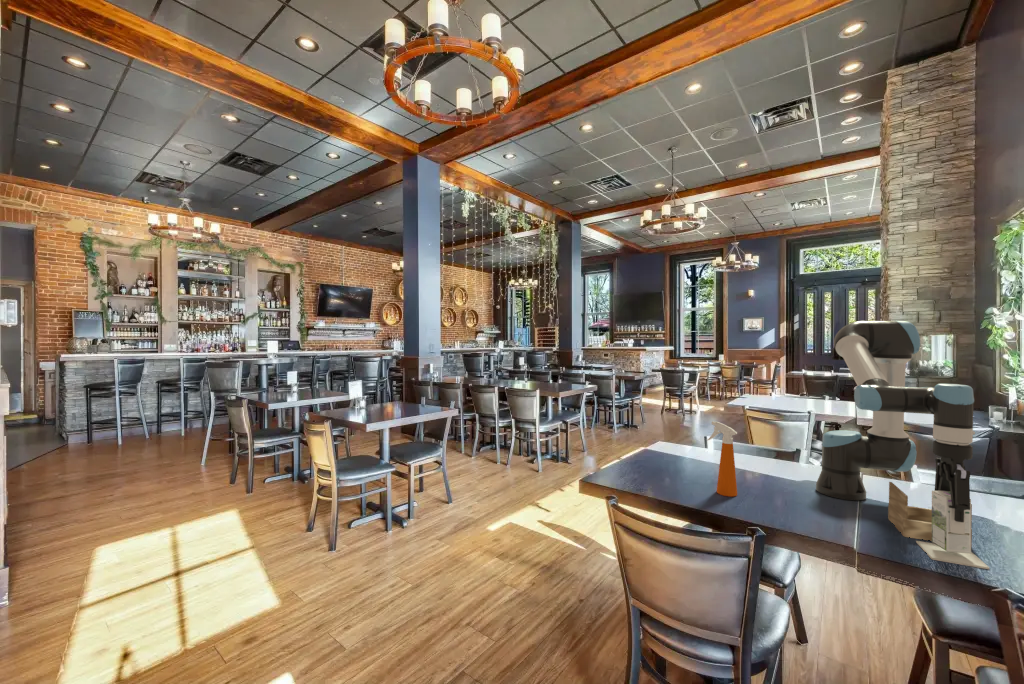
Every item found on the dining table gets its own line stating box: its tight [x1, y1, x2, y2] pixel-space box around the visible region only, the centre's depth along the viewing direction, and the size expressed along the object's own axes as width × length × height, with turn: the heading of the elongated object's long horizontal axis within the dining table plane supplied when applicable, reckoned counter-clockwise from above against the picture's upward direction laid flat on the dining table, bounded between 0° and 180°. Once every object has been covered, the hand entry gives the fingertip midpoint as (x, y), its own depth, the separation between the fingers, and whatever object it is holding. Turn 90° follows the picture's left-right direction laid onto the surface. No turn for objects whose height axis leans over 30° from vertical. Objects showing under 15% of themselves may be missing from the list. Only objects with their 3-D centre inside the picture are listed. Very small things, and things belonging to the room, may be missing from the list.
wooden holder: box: [887, 481, 973, 549], centre depth 133 cm, size 15×15×12 cm
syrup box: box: [931, 490, 972, 554], centre depth 119 cm, size 6×6×14 cm
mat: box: [915, 540, 990, 570], centre depth 119 cm, size 11×11×1 cm
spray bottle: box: [706, 420, 738, 498], centre depth 166 cm, size 7×11×26 cm, turn 51°
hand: (950, 527), depth 119 cm, fingers closed on syrup box, 7 cm apart
